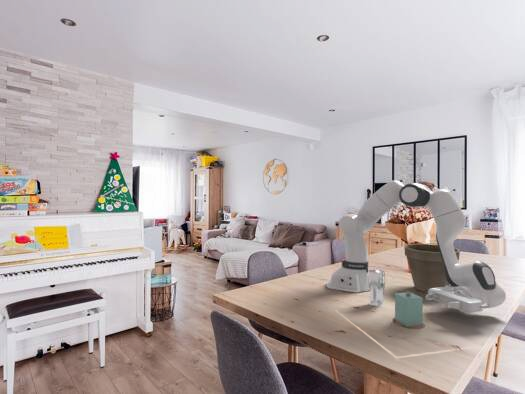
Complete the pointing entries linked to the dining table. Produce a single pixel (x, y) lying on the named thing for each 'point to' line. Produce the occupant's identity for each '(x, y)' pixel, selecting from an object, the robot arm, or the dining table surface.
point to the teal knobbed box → (409, 309)
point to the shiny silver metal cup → (376, 286)
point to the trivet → (410, 326)
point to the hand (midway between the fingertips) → (436, 301)
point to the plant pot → (426, 266)
